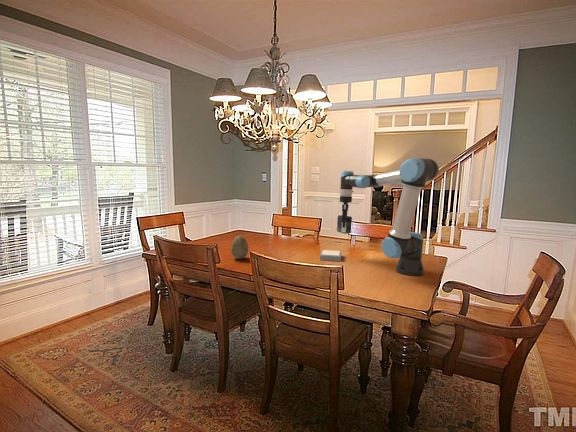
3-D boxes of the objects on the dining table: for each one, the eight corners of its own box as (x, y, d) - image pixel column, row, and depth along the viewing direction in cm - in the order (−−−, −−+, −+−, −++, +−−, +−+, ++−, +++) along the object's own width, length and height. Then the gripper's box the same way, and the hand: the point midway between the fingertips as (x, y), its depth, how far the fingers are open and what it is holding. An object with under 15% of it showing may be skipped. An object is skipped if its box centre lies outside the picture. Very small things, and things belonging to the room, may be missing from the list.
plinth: (340, 261, 209) (340, 256, 208) (319, 259, 211) (320, 254, 211) (341, 255, 222) (341, 250, 221) (321, 254, 224) (321, 249, 223)
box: (351, 233, 211) (352, 216, 210) (344, 234, 209) (345, 217, 207) (343, 230, 218) (344, 214, 216) (336, 231, 216) (337, 215, 214)
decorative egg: (251, 259, 210) (251, 236, 207) (236, 262, 203) (236, 238, 200) (242, 255, 218) (242, 233, 215) (227, 258, 211) (227, 235, 209)
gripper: (351, 197, 198) (349, 234, 202) (352, 194, 219) (350, 227, 223) (338, 197, 200) (336, 233, 204) (341, 193, 221) (339, 226, 225)
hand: (343, 230), depth 213 cm, fingers closed on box, 9 cm apart
